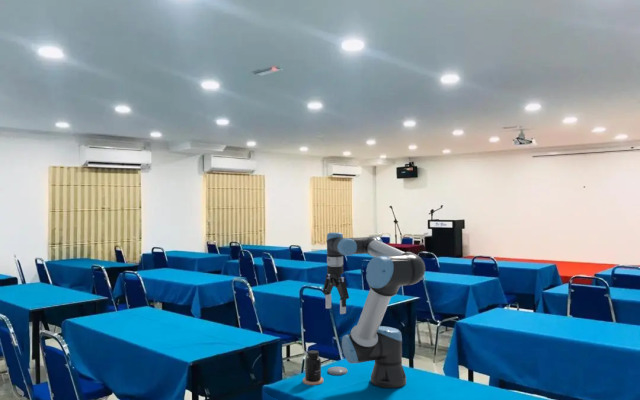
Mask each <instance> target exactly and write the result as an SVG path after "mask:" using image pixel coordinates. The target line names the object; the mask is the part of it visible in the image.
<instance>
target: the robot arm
mask: <svg viewBox="0 0 640 400" xmlns="http://www.w3.org/2000/svg"><path fill="white" fill-rule="evenodd" d="M343 235H344V234H343V233H342V232H328V233H327V234H326V263H327V266H326V273H327V274H325V280H324V285H323V287H322V293H324V295H325V309H332V291H333V288H334V287H335V288H336V289H337V292H338V294H339V295H338V296H339V314H340V315H345V314H347V300H348V299H349V298H350V296H349V291H348V287H347V283H346V277H344V276H343V277H342V275H344V256H345V257H346V256H349V257H350V256H352V255H366V254H367V255H369V256H371V257H373V258H371V259H370V260H369V262H368V263H367V266H366V269H365V272H366V274H365V278H366V281H367V284H368V287H369V291H368V294H367V297H366V299H365V303H364V305H363V308H362V311H361V313H360V317H359V319H358V322H357V325H354V326H353V327H352V329H351V331H350V334H345V335H343V336H342V339H341V348H342V352H343V356H344V358H345V359H346V361H347V362H348V363H349V364H360V363H365V362H366V363H367V362H373V361H374V365H373V368H372V372H371V374H370V382H371V384H372V385H374V386H377V387H380V388H385V389H396V388H401V387H403V386H405V385H406V384H407V376H406V372H405V370H404V367H403V358H402V357H403V345H402V344H403V338H402V332H401V331H400V330H399V329H398V328H395V327H391V326H384V325H383V326H382V325H381V324H382V322H383V318H384V316H385V314H386V311H387V308H388V307H389V303H390V301H391V298H392V297H394V296H396V295H397V293H398V291H399V290H400V288H401V287H402V286H413V285H416V284H417V283H419V282H420V281H421V280H423V278H424V276H425V273H426V265H425V261H424V260H423V258H421V257H420V256H419V255H418V254H415V253H414V252H411V251H406V252H405V251H402V250H400V249H398V248H396V247H394V246H391V245H389V244H386V243H385V242H383V240H382V238H381V237H378V236H365V237H344V236H343Z"/></svg>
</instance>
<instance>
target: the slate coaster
mask: <svg viewBox="0 0 640 400" xmlns="http://www.w3.org/2000/svg"><path fill="white" fill-rule="evenodd" d="M327 373H328V374H329V375H333V376H342V375H343V374H344V375H346V374H347V373H348V369H347V367H343V366H333V367H332V366H331V367H329V368H328V369H327Z"/></svg>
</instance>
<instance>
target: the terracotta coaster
mask: <svg viewBox="0 0 640 400" xmlns="http://www.w3.org/2000/svg"><path fill="white" fill-rule="evenodd" d="M302 383H303V384H305V385H309V386H316V385H317V386H318V385H320V384H323V383H324V378H323V377H322V376H321V379H320V380H319V381H316V382H310V381H307V380H306V379H305V377H303V378H302Z"/></svg>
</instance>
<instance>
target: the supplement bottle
mask: <svg viewBox="0 0 640 400" xmlns="http://www.w3.org/2000/svg"><path fill="white" fill-rule="evenodd" d="M319 352H320V351H319V350H316V349H315V350H308V351H307V357H306V358H305V360H304V361H305V363H304V365H305V366H304V369H305V371H304V375H305V376H304V378H305V379H306V380H307V381H310V382H316V381H319V380H320V379H321V377H322V360H321V358H320V357H319V356H320V355H319V354H320V353H319Z"/></svg>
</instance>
